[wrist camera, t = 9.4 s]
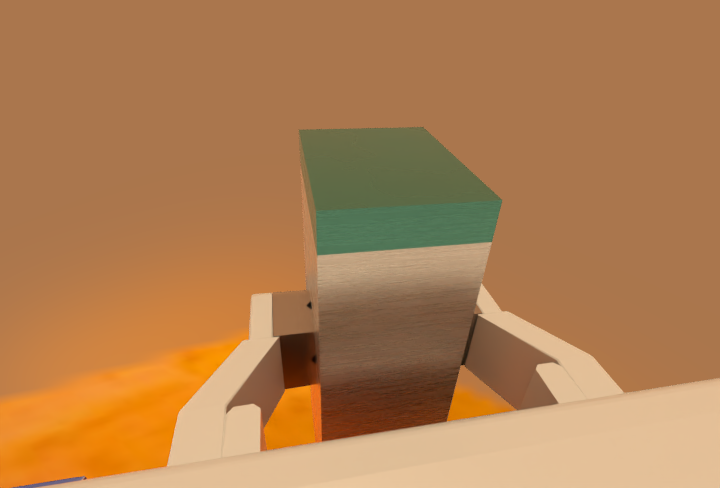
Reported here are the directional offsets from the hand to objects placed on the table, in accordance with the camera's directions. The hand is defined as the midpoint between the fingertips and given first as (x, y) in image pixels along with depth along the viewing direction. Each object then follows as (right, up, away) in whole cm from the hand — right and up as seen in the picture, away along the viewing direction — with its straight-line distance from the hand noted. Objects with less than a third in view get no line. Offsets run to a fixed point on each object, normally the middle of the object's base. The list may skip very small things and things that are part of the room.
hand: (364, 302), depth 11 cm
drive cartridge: (0, -5, +2) cm, 6 cm away
